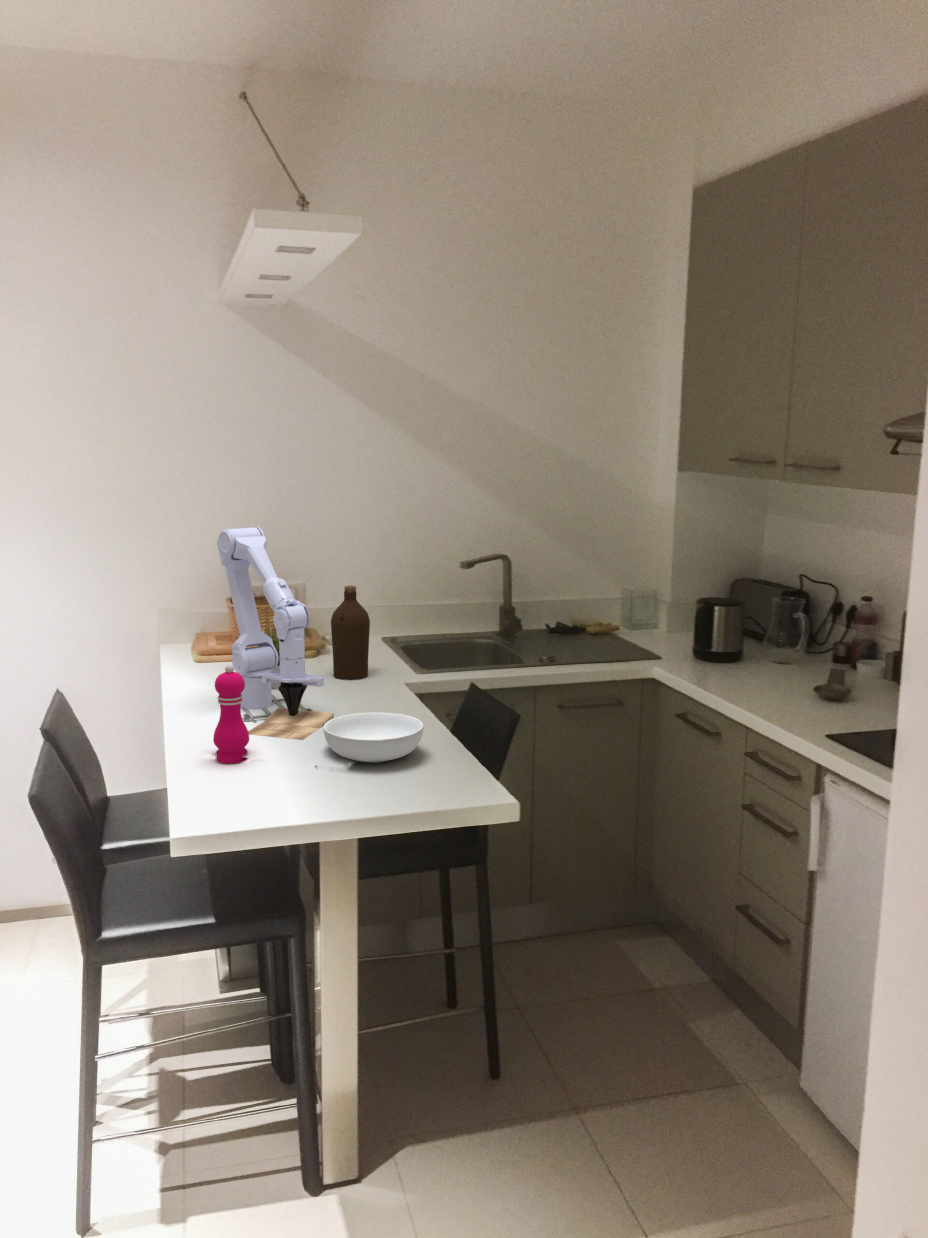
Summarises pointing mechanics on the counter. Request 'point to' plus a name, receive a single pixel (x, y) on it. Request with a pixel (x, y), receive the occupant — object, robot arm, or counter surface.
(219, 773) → the counter surface
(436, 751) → the counter surface
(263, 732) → the laid floor boards
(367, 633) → the olive oil
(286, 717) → the click plank
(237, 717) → the pepper mill
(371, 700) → the counter surface
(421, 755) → the counter surface
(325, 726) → the serving bowl
